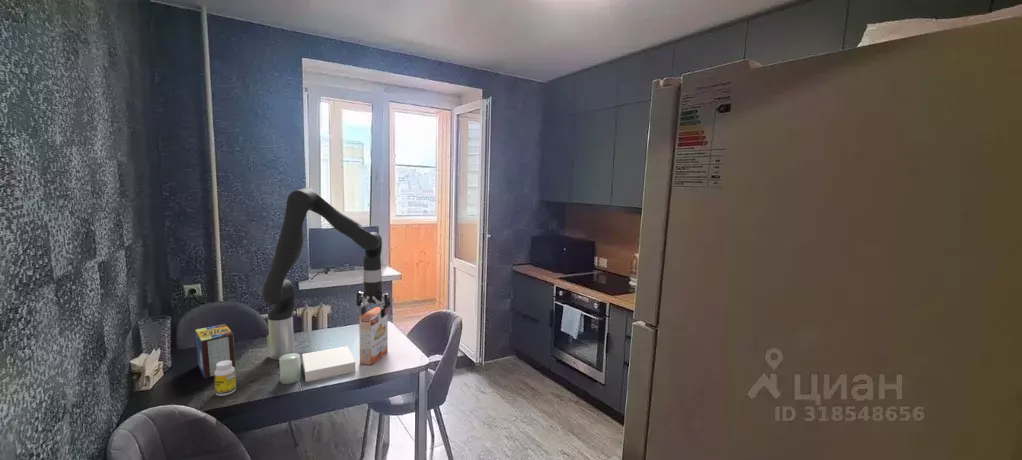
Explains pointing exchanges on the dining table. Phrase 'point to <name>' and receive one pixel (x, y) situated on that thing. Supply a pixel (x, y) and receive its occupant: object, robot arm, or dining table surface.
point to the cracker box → (373, 336)
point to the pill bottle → (224, 378)
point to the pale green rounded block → (290, 368)
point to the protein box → (214, 348)
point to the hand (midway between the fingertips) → (373, 316)
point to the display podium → (328, 363)
